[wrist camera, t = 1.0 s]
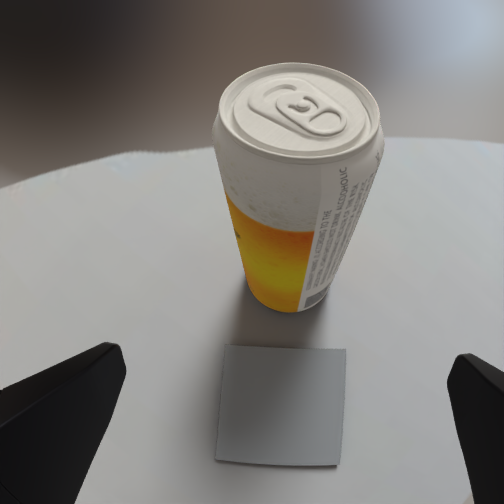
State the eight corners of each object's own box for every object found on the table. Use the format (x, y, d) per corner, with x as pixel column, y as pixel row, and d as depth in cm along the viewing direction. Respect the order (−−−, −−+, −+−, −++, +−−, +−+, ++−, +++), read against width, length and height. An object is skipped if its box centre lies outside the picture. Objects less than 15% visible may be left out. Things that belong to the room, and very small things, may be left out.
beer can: (290, 223, 25) (296, 44, 11) (347, 276, 22) (422, 114, 9) (230, 271, 23) (172, 104, 10) (286, 333, 21) (303, 209, 7)
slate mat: (338, 463, 17) (339, 464, 16) (216, 458, 17) (215, 459, 17) (344, 350, 20) (345, 348, 20) (226, 345, 21) (225, 344, 20)
